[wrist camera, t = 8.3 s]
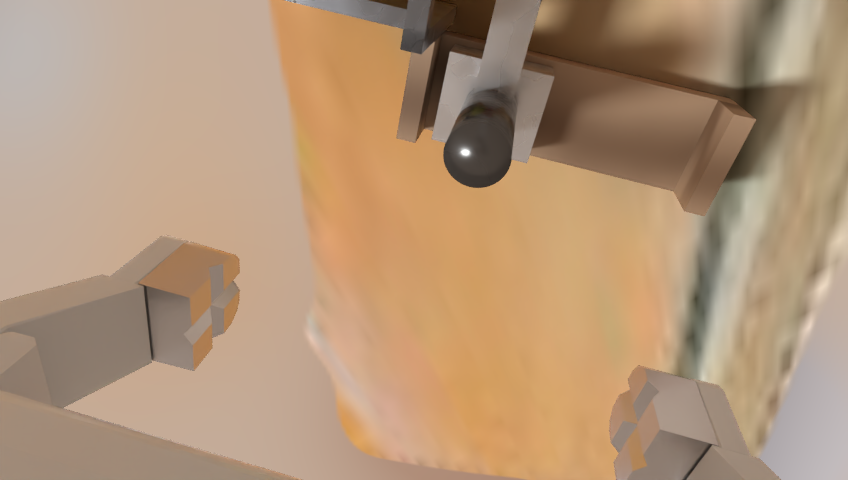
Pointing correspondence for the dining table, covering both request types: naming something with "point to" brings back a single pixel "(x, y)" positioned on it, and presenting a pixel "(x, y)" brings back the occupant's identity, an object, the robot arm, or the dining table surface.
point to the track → (607, 123)
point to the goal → (397, 17)
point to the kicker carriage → (493, 99)
